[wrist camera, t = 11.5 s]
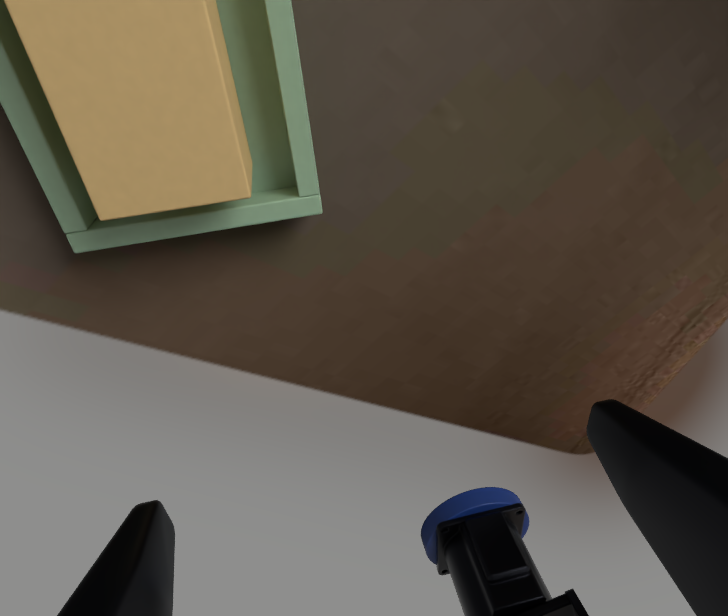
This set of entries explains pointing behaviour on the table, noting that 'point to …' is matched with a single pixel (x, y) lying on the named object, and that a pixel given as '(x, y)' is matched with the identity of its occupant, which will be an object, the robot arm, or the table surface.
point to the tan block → (141, 100)
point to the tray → (260, 117)
